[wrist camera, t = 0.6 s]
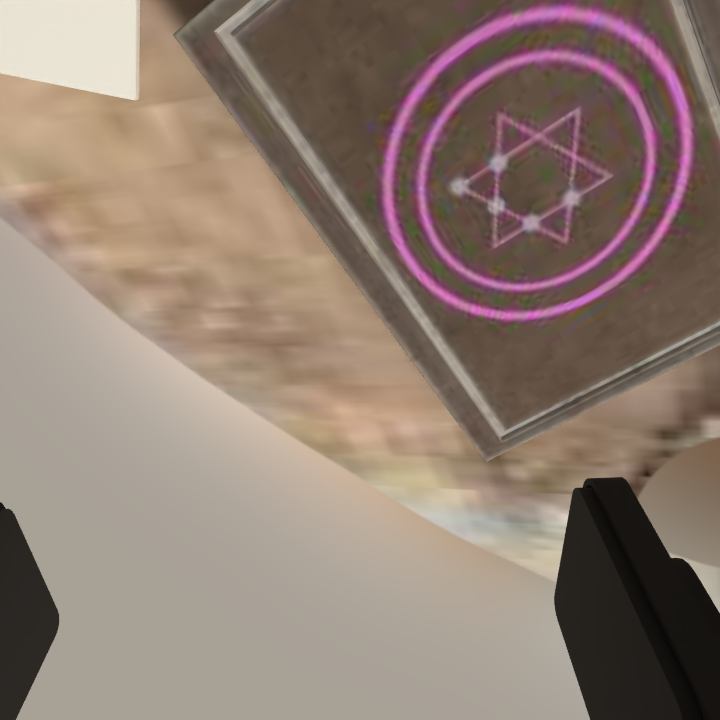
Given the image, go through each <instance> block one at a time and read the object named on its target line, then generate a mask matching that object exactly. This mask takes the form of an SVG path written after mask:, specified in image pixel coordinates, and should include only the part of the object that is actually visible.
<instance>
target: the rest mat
mask: <svg viewBox="0 0 720 720" xmlns="http://www.w3.org/2000/svg"><path fill="white" fill-rule="evenodd" d="M139 55H140V0H0V71H1V73H2V74H7V75H12V76H17V77H22V78H26V79H31V80H36V81H41V82H46V83H51V84H56V85H61V86H66V87H71V88H76V89H81V90H86V91H91V92H96V93H101V94H106V95H111V96H116V97H121V98H126V99H131V100H138V99H139Z"/></svg>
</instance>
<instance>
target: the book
mask: <svg viewBox="0 0 720 720" xmlns="http://www.w3.org/2000/svg"><path fill="white" fill-rule="evenodd" d="M173 36H174V37H175V38H176V40H177V41H178V42H179V44H180V45H181V46H182V48H183V49H184V51H185V52H186V53H187V55H188V56H189V57H190V59H191V60H192V61H193V63H194V64H195V66H196V67H197V68H198V70H199V71H200V72H201V74H202V75H203V76H204V78H205V79H206V81H207V82H208V83H209V85H210V86H211V87H212V89H213V90H214V91H215V93H216V94H217V96H218V97H219V98H220V100H221V101H222V102H223V104H224V105H225V106H226V108H227V109H228V111H229V112H230V113H231V115H232V116H233V117H234V119H235V120H236V121H237V123H238V124H239V126H240V127H241V128H242V130H243V131H244V132H245V134H246V135H247V137H248V138H249V139H250V141H251V142H252V143H253V145H254V146H255V147H256V149H257V150H258V152H259V153H260V154H261V156H262V157H263V158H264V160H265V161H266V162H267V164H268V165H269V167H270V168H271V169H272V171H273V172H274V173H275V175H276V176H277V177H278V179H279V180H280V182H281V183H282V184H283V186H284V187H285V188H286V190H287V191H288V192H289V194H290V195H291V197H292V198H293V199H294V201H295V202H296V203H297V205H298V206H299V207H300V209H301V210H302V212H303V213H304V214H305V216H306V217H307V218H308V220H309V221H310V222H311V224H312V225H313V227H314V228H315V229H316V231H317V232H318V233H319V235H320V236H321V237H322V239H323V240H324V242H325V243H326V244H327V246H328V247H329V248H330V250H331V251H332V252H333V254H334V255H335V257H336V258H337V259H338V261H339V262H340V263H341V265H342V266H343V267H344V269H345V270H346V272H347V273H348V274H349V276H350V277H351V278H352V280H353V281H354V282H355V284H356V285H357V287H358V288H359V289H360V291H361V292H362V293H363V295H364V296H365V297H366V299H367V300H368V302H369V303H370V304H371V306H372V307H373V308H374V310H375V311H376V312H377V314H378V315H379V317H380V318H381V319H382V321H383V322H384V323H385V325H386V326H387V327H388V329H389V330H390V332H391V333H392V334H393V336H394V337H395V338H396V340H397V341H398V342H399V344H400V345H401V347H402V348H403V349H404V351H405V352H406V353H407V355H408V356H409V357H410V359H411V360H412V362H413V363H414V364H415V366H416V367H417V368H418V370H419V371H420V372H421V374H422V375H423V377H424V378H425V379H426V381H427V382H428V383H429V385H430V386H431V387H432V389H433V390H434V392H435V393H436V394H437V396H438V397H439V398H440V400H441V401H442V402H443V404H444V405H445V407H446V408H447V409H448V411H449V412H450V413H451V415H452V416H453V417H454V419H455V420H456V422H457V423H458V424H459V426H460V427H461V428H462V430H463V431H464V432H465V434H466V435H467V437H468V438H469V439H470V441H471V442H472V443H473V445H474V446H475V447H476V449H477V450H478V452H479V453H480V454H481V456H482V457H483V458H484V460H485V461H486V462H487V461H489V460H491V459H493V458H495V457H497V456H499V455H501V454H503V453H505V452H507V451H509V450H511V449H513V448H515V447H517V446H519V445H521V444H523V443H525V442H527V441H529V440H531V439H533V438H535V437H537V436H539V435H541V434H543V433H545V432H547V431H549V430H551V429H553V428H555V427H557V426H559V425H561V424H563V423H565V422H567V421H569V420H571V419H573V418H575V417H577V416H579V415H581V414H583V413H585V412H587V411H589V410H591V409H593V408H595V407H597V406H599V405H601V404H603V403H605V402H607V401H609V400H611V399H613V398H615V397H617V396H619V395H621V394H623V393H625V392H627V391H629V390H631V389H633V388H635V387H637V386H639V385H641V384H643V383H645V382H647V381H649V380H651V379H653V378H655V377H657V376H659V375H661V374H663V373H665V372H667V371H669V370H671V369H673V368H675V367H677V366H679V365H681V364H683V363H685V362H687V361H689V360H691V359H693V358H695V357H697V356H699V355H701V354H703V353H705V352H707V351H709V350H711V349H713V348H715V347H717V346H719V345H720V0H213V1H212V2H210V3H209V4H208V5H207V6H206V7H205V8H203V9H202V10H201V11H200V12H199V13H197V14H196V15H195V16H194V17H193V18H192V19H190V20H189V21H188V22H187V23H186V24H185V25H183V26H182V27H181V28H180V29H179V30H178V31H176V32H175V33H174V34H173Z"/></svg>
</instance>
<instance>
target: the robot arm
mask: <svg viewBox="0 0 720 720" xmlns="http://www.w3.org/2000/svg"><path fill="white" fill-rule="evenodd" d="M554 602H555V611H556V616H557V619H558V622H559V625H560V628H561V631H562V634H563V637H564V640H565V643H566V647H567V650H568V653H569V656H570V659H571V662H572V665H573V668H574V671H575V674H576V677H577V680H578V683H579V686H580V689H581V692H582V695H583V698H584V701H585V705H586V708H587V711H588V714H589V717H590V720H720V613H719V611H718V610H717V608H716V606H715V605H714V603H713V601H712V600H711V598H710V596H709V595H708V593H707V591H706V590H705V588H704V586H703V585H702V583H701V581H700V580H699V578H698V576H697V575H696V573H695V572H694V570H693V569H692V568H691V566H690V565H689V564H688V563H687V562H686V561H684V560H683V559H680V558H671V557H670V556H669V554H668V552H667V550H666V549H665V547H664V545H663V543H662V542H661V540H660V538H659V536H658V535H657V533H656V531H655V529H654V528H653V526H652V524H651V522H650V521H649V519H648V517H647V515H646V514H645V512H644V510H643V508H642V507H641V505H640V503H639V501H638V499H637V498H636V496H635V494H634V492H633V491H632V489H631V487H630V485H629V484H628V482H627V481H626V480H625V479H624V478H622V477H616V478H589V479H586V480H585V482H584V485H583V488H575V489H574V490H573V494H572V499H571V505H570V510H569V516H568V522H567V527H566V533H565V539H564V544H563V550H562V556H561V561H560V567H559V572H558V578H557V584H556V589H555V597H554ZM58 626H59V613H58V610H57V608H56V606H55V603H54V601H53V599H52V597H51V595H50V592H49V590H48V588H47V586H46V583H45V581H44V579H43V577H42V575H41V572H40V570H39V568H38V566H37V563H36V561H35V559H34V557H33V555H32V552H31V550H30V548H29V546H28V544H27V542H26V539H25V537H24V535H23V533H22V530H21V528H20V526H19V524H18V521H17V519H16V517H15V515H14V513H13V512H12V511H11V510H10V509H6V508H5V507H4V505H3V504H2V503H1V502H0V720H16V718H17V716H18V714H19V712H20V709H21V707H22V705H23V703H24V701H25V699H26V697H27V695H28V693H29V691H30V688H31V686H32V684H33V682H34V680H35V678H36V676H37V673H38V672H39V670H40V667H41V665H42V663H43V661H44V659H45V657H46V655H47V653H48V650H49V649H50V646H51V644H52V642H53V640H54V638H55V636H56V633H57V630H58Z"/></svg>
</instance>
